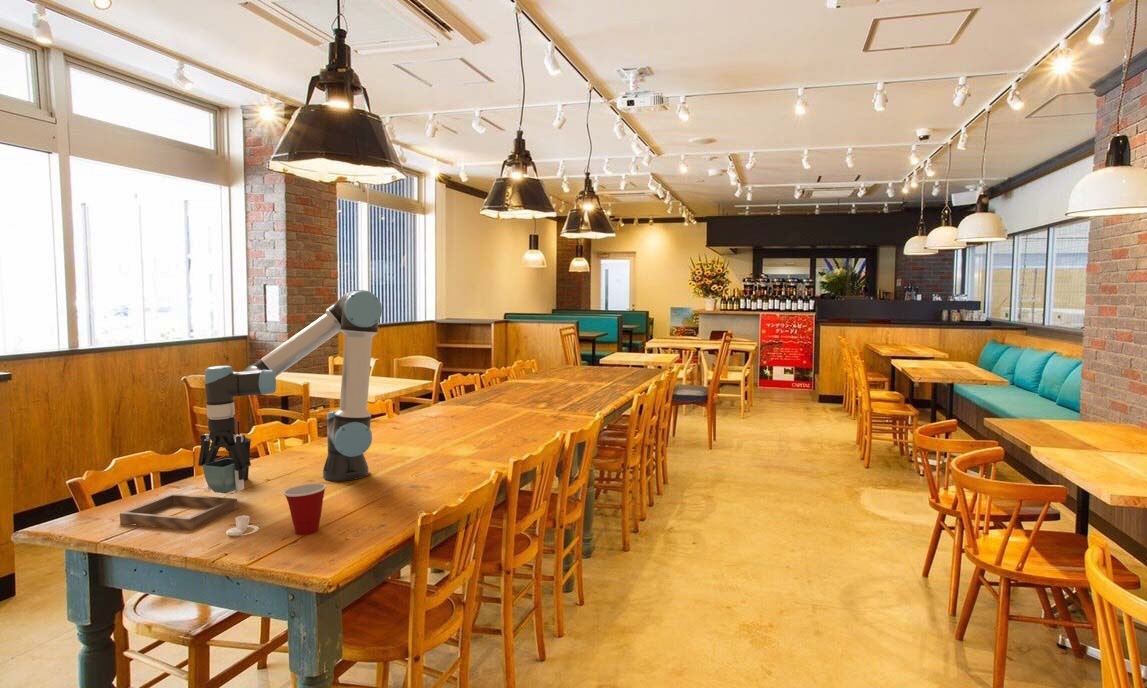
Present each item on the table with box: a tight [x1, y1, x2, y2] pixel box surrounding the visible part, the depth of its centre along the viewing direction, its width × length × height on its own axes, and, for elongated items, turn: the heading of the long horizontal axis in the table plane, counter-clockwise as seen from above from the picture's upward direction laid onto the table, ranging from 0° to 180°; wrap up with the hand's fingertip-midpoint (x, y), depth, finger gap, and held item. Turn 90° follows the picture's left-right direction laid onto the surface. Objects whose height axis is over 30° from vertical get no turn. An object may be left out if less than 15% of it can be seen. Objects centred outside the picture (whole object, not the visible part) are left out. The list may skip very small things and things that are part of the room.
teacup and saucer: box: [225, 515, 260, 537], centre depth 181 cm, size 9×8×4 cm
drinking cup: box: [228, 421, 252, 482], centre depth 229 cm, size 8×8×20 cm
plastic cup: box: [282, 482, 327, 536], centre depth 181 cm, size 11×11×12 cm
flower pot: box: [201, 457, 237, 494], centre depth 207 cm, size 9×9×9 cm
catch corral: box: [119, 493, 238, 531], centre depth 193 cm, size 22×18×3 cm
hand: (226, 489), depth 207 cm, fingers closed on flower pot, 9 cm apart
